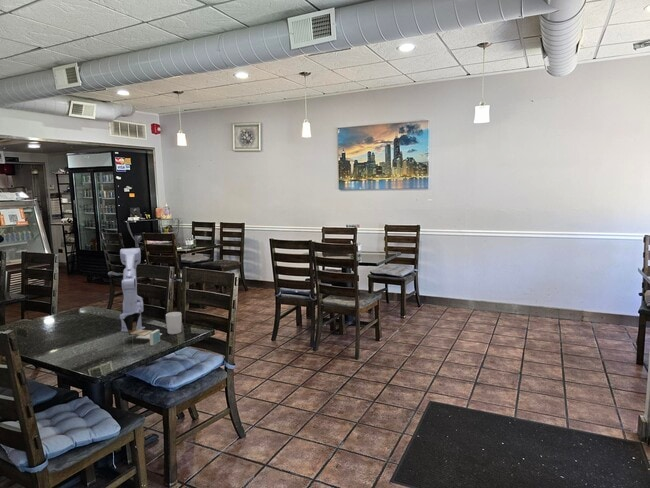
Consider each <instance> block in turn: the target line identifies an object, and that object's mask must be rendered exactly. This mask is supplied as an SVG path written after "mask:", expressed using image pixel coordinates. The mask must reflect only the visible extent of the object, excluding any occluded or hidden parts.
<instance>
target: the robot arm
mask: <svg viewBox="0 0 650 488" xmlns="http://www.w3.org/2000/svg"><path fill="white" fill-rule="evenodd" d="M119 257H120V262H121V263H122V265H124V266H125V268H124V269H123V271H122V272H123V273H122V275H123V276H122V279H121V290H122V295H123V300H122V313H120V314H119V319H120V321H121V330H120V332H124V333H125V332H126V333H128V330H132V326H133V322H136V330H137V329H140V330H145V328H146V327H145V326H142V313H143V312H144V301H143V297H142V296H139V295H138V288H137V287H138V281H137V266H138V265H140V263H141V261H142V260H141V259H142V258H141V257H142V255H141V248H140V247H134V248H133V247H131V248H121V249H120V250H119Z"/></svg>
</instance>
